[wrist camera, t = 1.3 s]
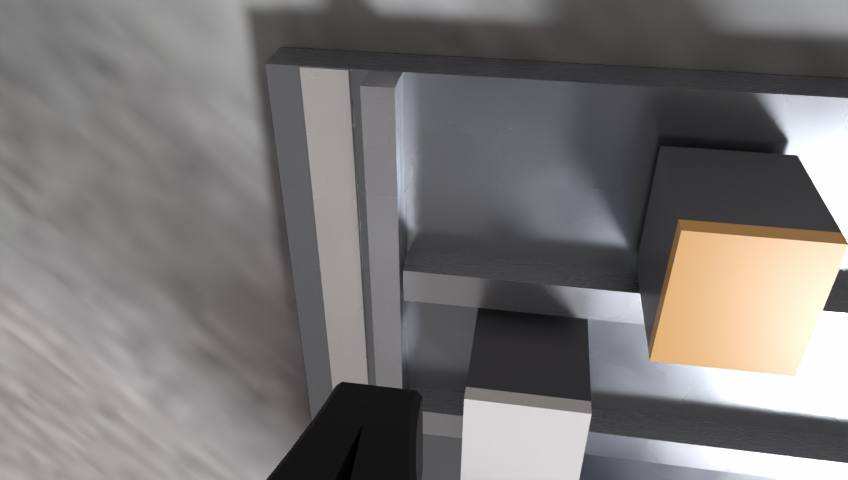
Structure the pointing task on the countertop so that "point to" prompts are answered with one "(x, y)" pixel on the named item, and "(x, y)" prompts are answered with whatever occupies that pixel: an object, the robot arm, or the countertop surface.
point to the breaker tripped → (735, 260)
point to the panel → (542, 243)
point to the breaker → (526, 397)
